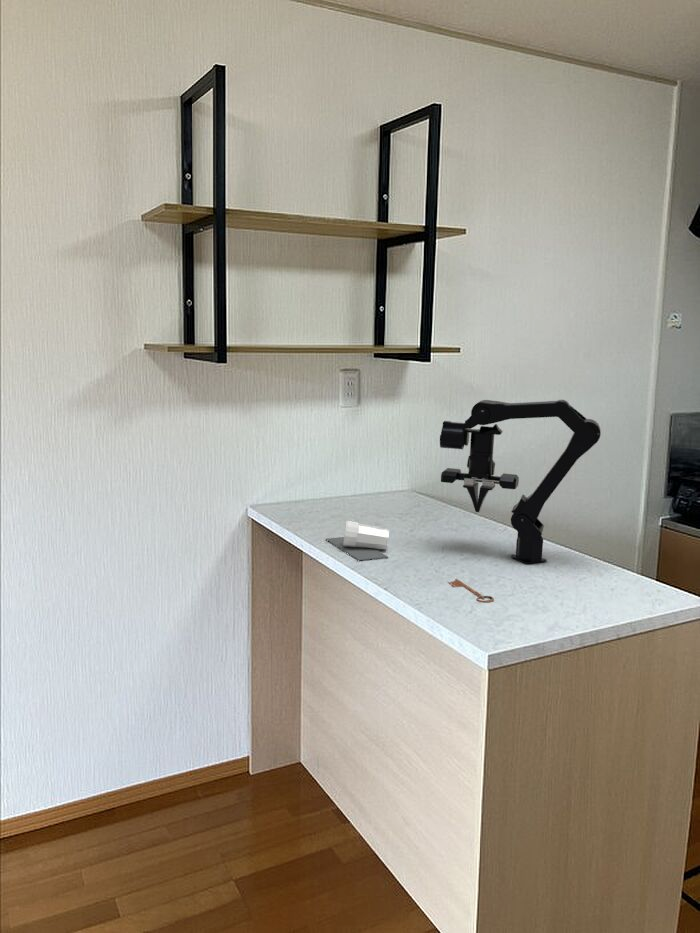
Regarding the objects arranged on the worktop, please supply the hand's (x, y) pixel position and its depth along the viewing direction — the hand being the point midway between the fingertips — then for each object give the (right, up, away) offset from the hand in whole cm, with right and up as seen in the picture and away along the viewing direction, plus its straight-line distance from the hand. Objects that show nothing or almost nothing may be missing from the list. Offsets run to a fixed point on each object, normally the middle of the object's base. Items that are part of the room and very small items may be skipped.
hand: (477, 511), depth 209 cm
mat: (-31, -10, +3) cm, 32 cm away
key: (-6, -17, -27) cm, 32 cm away
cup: (-22, -7, +2) cm, 24 cm away
